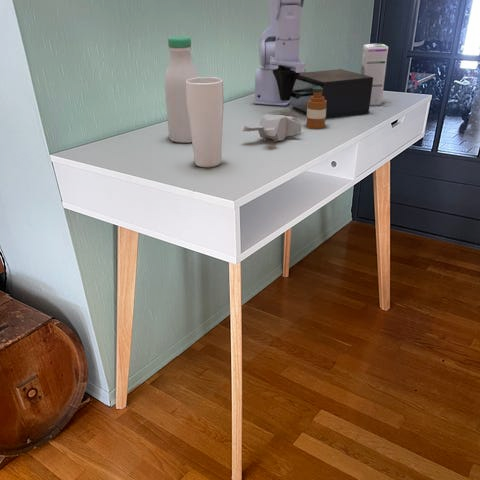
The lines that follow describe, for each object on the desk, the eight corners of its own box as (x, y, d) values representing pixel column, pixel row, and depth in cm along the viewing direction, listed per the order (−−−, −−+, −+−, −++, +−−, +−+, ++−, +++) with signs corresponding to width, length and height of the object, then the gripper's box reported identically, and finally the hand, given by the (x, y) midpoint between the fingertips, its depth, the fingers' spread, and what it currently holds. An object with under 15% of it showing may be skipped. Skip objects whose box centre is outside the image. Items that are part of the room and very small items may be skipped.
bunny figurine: (311, 115, 112) (276, 121, 102) (308, 139, 115) (274, 147, 104) (275, 110, 117) (238, 115, 106) (273, 133, 120) (237, 140, 109)
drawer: (302, 117, 124) (303, 87, 120) (277, 106, 134) (277, 79, 131) (360, 110, 130) (363, 81, 126) (332, 100, 140) (334, 73, 136)
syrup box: (381, 105, 138) (390, 45, 130) (360, 105, 138) (367, 46, 130) (377, 101, 143) (385, 43, 135) (356, 101, 143) (363, 43, 135)
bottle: (302, 125, 121) (304, 87, 116) (316, 123, 123) (319, 85, 118) (313, 129, 118) (316, 90, 113) (328, 127, 120) (332, 88, 115)
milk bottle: (198, 144, 109) (192, 39, 98) (164, 142, 111) (154, 39, 99) (207, 134, 115) (202, 35, 104) (175, 133, 117) (167, 35, 105)
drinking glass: (225, 158, 101) (223, 76, 92) (225, 169, 95) (223, 83, 87) (191, 159, 101) (186, 77, 92) (189, 170, 95) (183, 84, 87)
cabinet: (320, 119, 126) (323, 82, 121) (292, 107, 137) (294, 73, 132) (368, 113, 131) (373, 77, 126) (337, 102, 142) (340, 69, 137)
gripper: (259, 37, 124) (258, 96, 131) (287, 43, 113) (284, 107, 120) (284, 35, 126) (282, 93, 134) (314, 41, 115) (310, 104, 123)
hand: (285, 100), depth 127 cm, fingers closed, pressing on drawer
